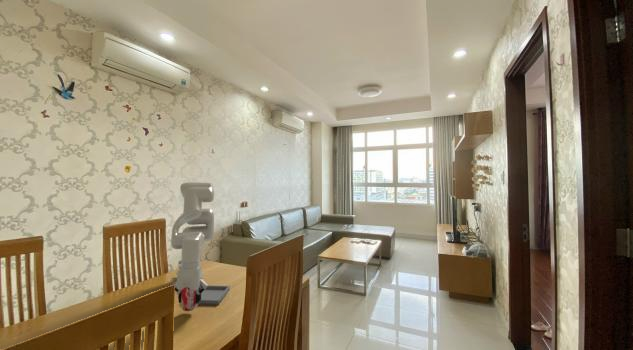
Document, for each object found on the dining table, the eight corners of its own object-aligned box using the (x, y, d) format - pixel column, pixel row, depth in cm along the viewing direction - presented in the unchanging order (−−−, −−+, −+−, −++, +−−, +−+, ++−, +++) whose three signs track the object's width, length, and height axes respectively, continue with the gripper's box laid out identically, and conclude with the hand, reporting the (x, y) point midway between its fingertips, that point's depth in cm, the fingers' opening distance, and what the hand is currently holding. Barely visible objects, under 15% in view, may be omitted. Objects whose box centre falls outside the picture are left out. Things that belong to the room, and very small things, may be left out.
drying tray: (182, 304, 124) (182, 299, 124) (197, 289, 140) (197, 285, 140) (218, 304, 124) (218, 300, 124) (229, 289, 140) (229, 285, 140)
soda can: (180, 314, 111) (181, 287, 110) (180, 306, 117) (181, 280, 117) (198, 310, 114) (199, 284, 114) (197, 302, 120) (198, 278, 120)
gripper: (166, 266, 111) (165, 305, 112) (206, 267, 111) (205, 307, 112) (176, 259, 118) (175, 296, 119) (213, 261, 119) (211, 298, 119)
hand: (189, 301), depth 115 cm, fingers closed on soda can, 7 cm apart
